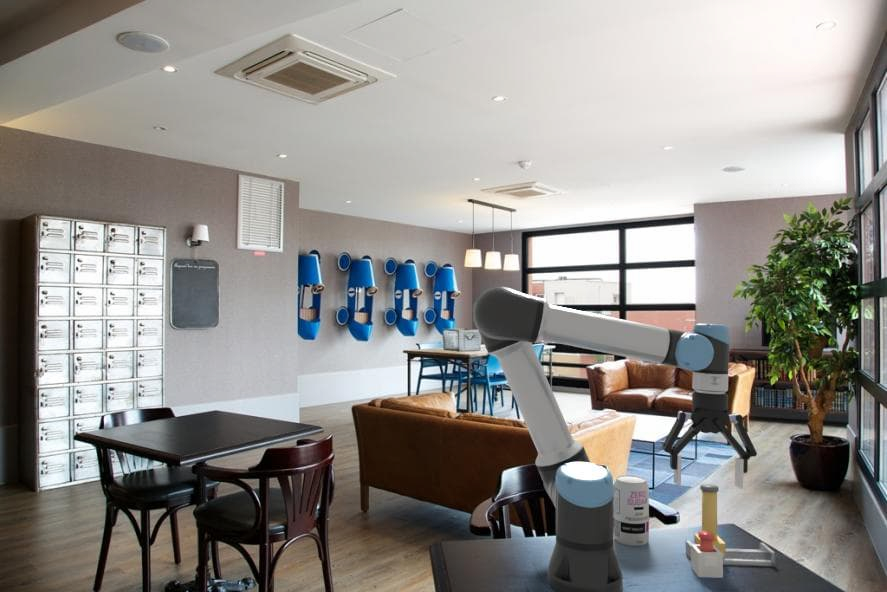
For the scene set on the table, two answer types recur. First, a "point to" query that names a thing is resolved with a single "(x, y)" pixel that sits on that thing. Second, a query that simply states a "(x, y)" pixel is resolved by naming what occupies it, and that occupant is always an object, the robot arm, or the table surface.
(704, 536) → the button
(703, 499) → the sliding lever handle
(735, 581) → the table surface
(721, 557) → the white button housing
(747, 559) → the rail
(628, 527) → the supplement can
